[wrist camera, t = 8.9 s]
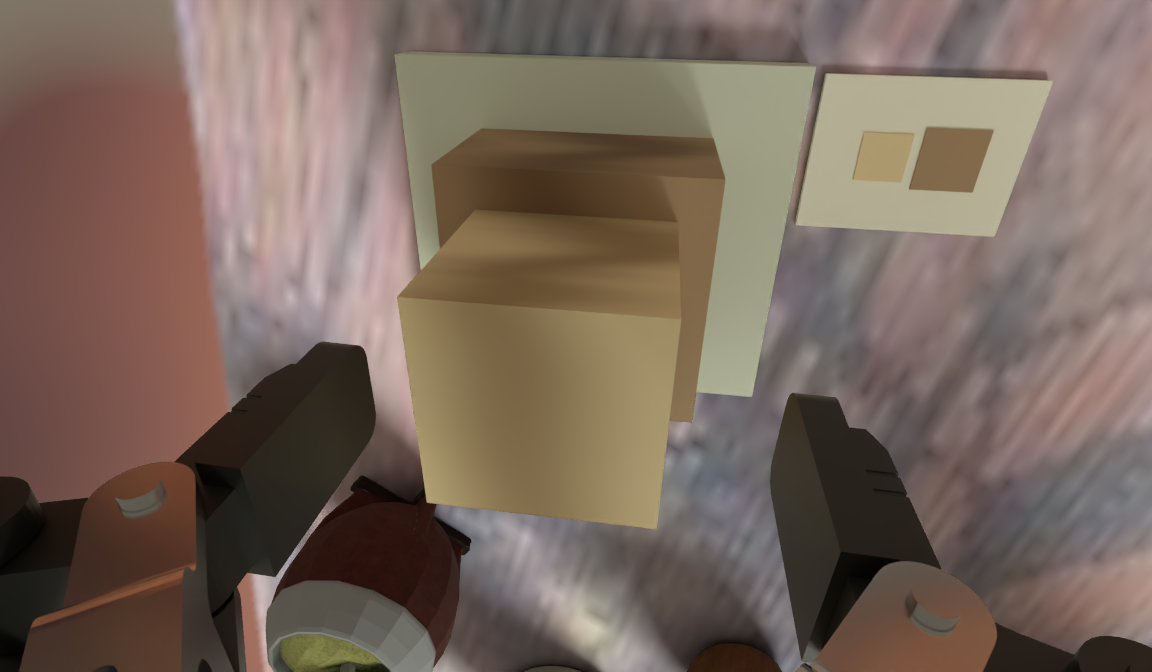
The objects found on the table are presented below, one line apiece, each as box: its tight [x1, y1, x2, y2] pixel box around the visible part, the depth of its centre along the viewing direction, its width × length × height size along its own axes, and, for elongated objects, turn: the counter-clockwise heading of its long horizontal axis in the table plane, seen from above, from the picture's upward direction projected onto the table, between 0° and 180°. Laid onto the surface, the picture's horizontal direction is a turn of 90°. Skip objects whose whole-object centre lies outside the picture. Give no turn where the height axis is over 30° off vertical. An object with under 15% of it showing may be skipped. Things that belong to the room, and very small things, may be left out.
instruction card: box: [795, 73, 1053, 237], centre depth 18 cm, size 6×4×1 cm
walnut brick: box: [431, 128, 726, 423], centre depth 18 cm, size 7×7×4 cm
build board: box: [394, 51, 816, 397], centre depth 20 cm, size 12×11×1 cm
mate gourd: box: [266, 476, 471, 672], centre depth 23 cm, size 8×8×15 cm
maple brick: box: [397, 210, 681, 529], centre depth 14 cm, size 5×5×5 cm
